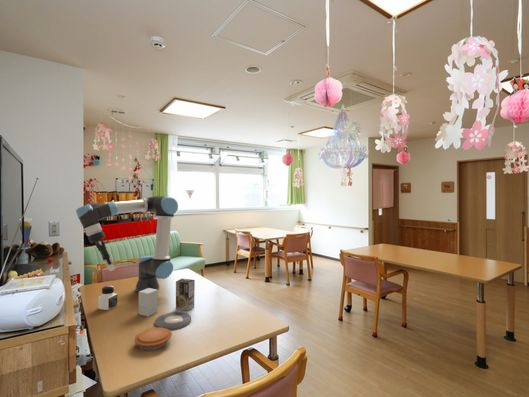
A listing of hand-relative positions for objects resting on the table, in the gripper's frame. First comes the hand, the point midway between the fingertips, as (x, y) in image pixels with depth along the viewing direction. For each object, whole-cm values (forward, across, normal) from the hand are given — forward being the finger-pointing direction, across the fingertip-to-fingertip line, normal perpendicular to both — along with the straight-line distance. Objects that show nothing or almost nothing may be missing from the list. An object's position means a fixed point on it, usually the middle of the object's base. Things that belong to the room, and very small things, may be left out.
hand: (111, 269), depth 153 cm
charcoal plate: (+37, +17, +15) cm, 43 cm away
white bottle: (+20, -19, -9) cm, 30 cm away
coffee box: (+38, +2, +25) cm, 46 cm away
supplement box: (+31, 0, +7) cm, 31 cm away
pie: (+36, +35, +1) cm, 50 cm away
